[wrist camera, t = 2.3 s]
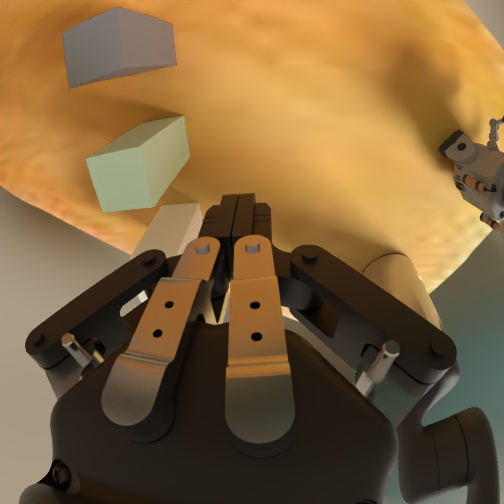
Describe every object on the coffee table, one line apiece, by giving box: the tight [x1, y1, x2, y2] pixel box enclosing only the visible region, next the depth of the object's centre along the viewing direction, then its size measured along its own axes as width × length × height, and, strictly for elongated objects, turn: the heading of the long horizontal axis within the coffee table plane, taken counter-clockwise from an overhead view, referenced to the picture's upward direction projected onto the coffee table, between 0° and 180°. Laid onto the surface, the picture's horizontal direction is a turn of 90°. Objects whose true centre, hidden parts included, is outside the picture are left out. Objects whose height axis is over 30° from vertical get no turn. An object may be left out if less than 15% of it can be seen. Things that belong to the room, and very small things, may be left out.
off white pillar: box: [128, 203, 203, 303], centre depth 31 cm, size 5×5×12 cm
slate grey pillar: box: [62, 7, 177, 89], centre depth 17 cm, size 5×5×12 cm
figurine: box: [439, 116, 504, 237], centre depth 20 cm, size 9×12×15 cm
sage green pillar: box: [86, 116, 190, 213], centre depth 24 cm, size 5×5×12 cm
